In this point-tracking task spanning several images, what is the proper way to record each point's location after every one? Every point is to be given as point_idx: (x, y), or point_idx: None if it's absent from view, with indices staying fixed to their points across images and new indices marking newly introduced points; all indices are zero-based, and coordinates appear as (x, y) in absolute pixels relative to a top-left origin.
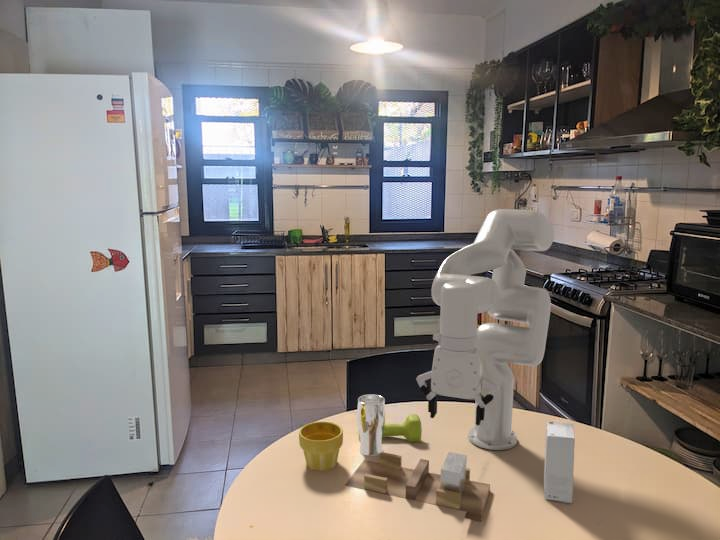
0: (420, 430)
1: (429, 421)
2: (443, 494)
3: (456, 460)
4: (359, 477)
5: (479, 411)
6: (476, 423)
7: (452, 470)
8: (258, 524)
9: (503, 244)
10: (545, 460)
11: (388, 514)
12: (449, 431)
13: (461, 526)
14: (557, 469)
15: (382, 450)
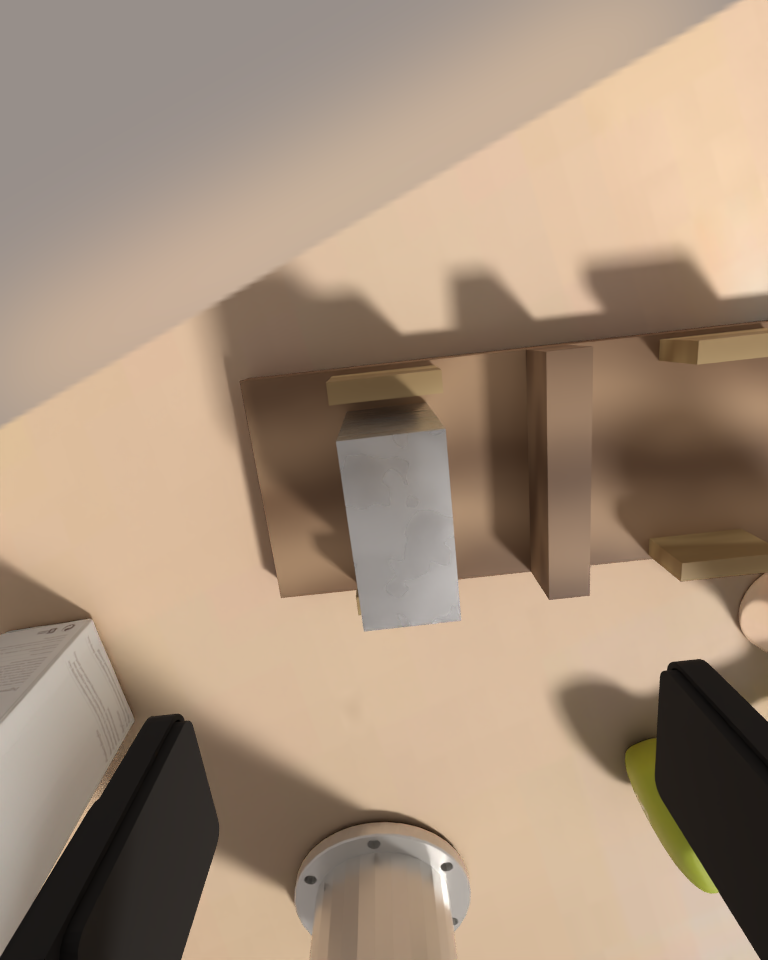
0: (652, 803)
1: (629, 904)
2: (404, 372)
3: (395, 557)
4: None
5: (46, 889)
6: (175, 726)
7: (381, 448)
8: None
9: None
10: (26, 757)
11: (602, 242)
12: (540, 873)
13: (303, 309)
14: None
15: (760, 639)
